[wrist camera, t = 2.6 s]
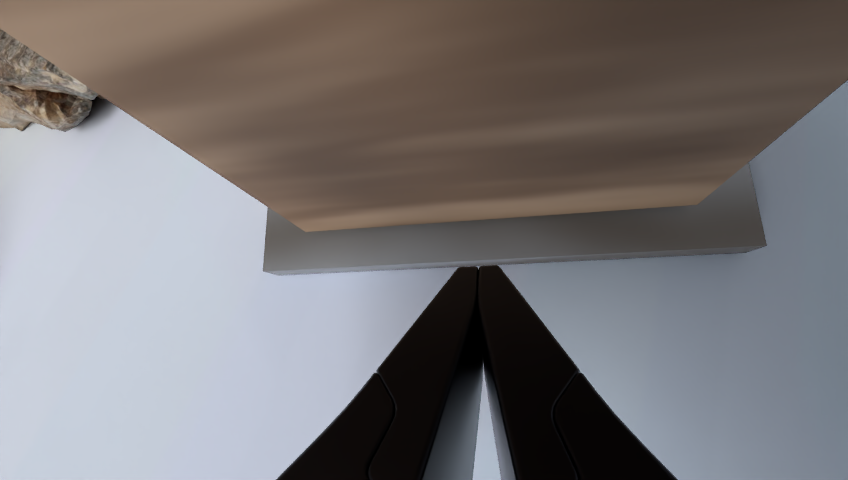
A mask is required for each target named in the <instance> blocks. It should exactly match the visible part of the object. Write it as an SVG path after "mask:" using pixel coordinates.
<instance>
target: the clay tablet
mask: <svg viewBox="0 0 848 480" xmlns="http://www.w3.org/2000/svg"><path fill="white" fill-rule="evenodd" d="M96 97H98V98H101V99H103V100H104V99H105V98H104V97H102V96H101V95H99V94H98V93H96V92H95V91H93V90H92V89H90V88H89V87H87V86H86V85H84V84H83V83H81V82H80V81H78V80H77V79H75V78H73V77H72V76H70V75H69V74H67V73H66V72H64V71H63V70H61V69H60V68H58V67H57V66H55V65H54V64H52V63H51V62H49V61H48V60H46V59H45V58H43V57H42V56H40V55H39V54H37V53H36V52H34V51H33V50H31V49H30V48H28V47H27V46H25V45H24V44H22V43H21V42H19V41H18V40H16V39H15V38H13V37H12V36H10V35H9V34H7V33H6V32H4V31H3V30H1V29H0V128H17V129H18V130H20V131H22V130H23V129H25V128H26V127H27V126H28V125H29V124H30V123H31V122H33V123H37V124H41V125H44V126H46V127H48V128H51V129H57V130H61V131H64V132H66V131H68V130H70V129H71V128H73V127H75V126H77V125H78V124H79V123H81V122H82V121H83V120H84V119H85V118H86V117H87V116H88V115H89V112H90V111H91V106H92V101H90V100H94V99H95V98H96ZM89 99H90V100H89Z"/></svg>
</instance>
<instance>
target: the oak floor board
mask: <svg viewBox="0 0 848 480" xmlns="http://www.w3.org/2000/svg"><path fill="white" fill-rule="evenodd" d="M764 246H767V244H766V240H765V235H764V231H763V226H762V222H761V217H760V213H759V208H758V203H757V199H756V194H755V190H754V185H753V181H752V176H751V172H750V167H749V163H747V164H746V165H745V166H743V167H742V168H741V169H740V170H739V171H737V172H736V173H735V174H734V175H732V176H731V177H730V178H729V179H728V180H726V181H725V182H724V183H723V184H722V185H720V186H719V187H718V188H717V189H716V190H714V191H713V192H712V193H711V194H710V195H708V196H707V197H706V198H705V199H704V200H702V201H701V202H700V203H699V204H698V205H688V206H673V207H659V208H644V209H630V210H616V211H601V212H587V213H572V214H558V215H543V216H529V217H514V218H500V219H486V220H471V221H457V222H442V223H428V224H413V225H399V226H385V227H370V228H356V229H341V230H327V231H312V232H305V231H303V230H302V229H300V228H299V227H297V226H296V225H294V224H293V223H291V222H290V221H288V220H287V219H285V218H284V217H282V216H281V215H279V214H278V213H276V212H275V211H273V210H272V209H270V208H269V207H268V211H267V224H266V237H265V251H264V264H263V271H264V272H267V273H271V274H275V275H297V274H318V273H338V272H359V271H379V270H400V269H420V268H441V267H461V266H482V265H502V264H523V263H543V262H564V261H584V260H605V259H625V258H646V257H666V256H687V255H707V254H728V253H746V252H749V251H752V250H755V249H758V248H761V247H764Z"/></svg>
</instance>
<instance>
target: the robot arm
mask: <svg viewBox="0 0 848 480" xmlns="http://www.w3.org/2000/svg"><path fill="white" fill-rule="evenodd" d="M483 363H484V372H485V380H486V387H487V393H488V399H489V406H490V412H491V418H492V424H493V430H494V437H495V443H496V449H497V455H498V462H499V468H500V474H501V480H678V479H677V478H676V477H675V476H674V475H673V474H672V473H671V472H670V471H669V470H668V469H667V468H666V467H665V466H664V465H663V464H662V463H661V462H660V461H659V460H658V459H657V458H656V457H655V456H654V455H653V454H652V453H651V452H650V451H649V450H648V449H647V448H646V447H645V446H644V445H643V443H642V442H641V441H640V440H639V439H638V438H637V437H636V436H635V435H634V434H633V433H632V432H631V431H630V430H629V428H628V427H627V426H626V425H625V424H624V423H623V422H622V421H621V420H620V419H619V418H618V417H617V416H616V414H615V413H614V412H613V411H612V410H611V408H610V407H609V406H608V405H607V404H606V402H605V401H604V400H603V399H602V398H601V396H600V395H599V394H598V393H597V392H596V390H595V389H594V388H593V386H592V385H591V384H590V383H589V381H588V380H587V379H586V377H585V376H584V375H583V374H582V373H580V370H579V369H578V367H577V366H576V365H575V364H574V362H573V361H572V360H571V358H570V357H569V356H568V354H567V353H566V352H565V351H564V349H563V348H562V347H561V345H560V344H559V343H558V342H557V340H556V339H555V338H554V336H553V335H552V334H551V333H550V331H549V330H548V329H547V327H546V326H545V325H544V324H543V322H542V321H541V320H540V318H539V317H538V316H537V315H536V313H535V312H534V311H533V309H532V308H531V307H530V305H529V304H528V303H527V302H526V300H525V299H524V298H523V296H522V295H521V294H520V293H519V291H518V290H517V289H516V287H515V286H514V285H513V284H512V282H511V281H510V280H509V278H508V277H507V276H506V275H505V273H504V272H503V271H502V269H501V268H500V267H499V266H497V265H492V266H481V267H479V270H478V268H477V267H476V266H471V267H459V268H458V269H457V270H456V271H455V272H454V274H453V275H452V276H451V277H450V279H449V280H448V281H447V282H446V284H445V285H444V286H443V287H442V289H441V290H440V291H439V292H438V294H437V295H436V296H435V298H434V299H433V300H432V301H431V303H430V304H429V305H428V306H427V308H426V309H425V310H424V311H423V313H422V314H421V315H420V316H419V318H418V319H417V320H416V321H415V323H414V324H413V325H412V326H411V328H410V329H409V330H408V331H407V333H406V334H405V335H404V336H403V338H402V339H401V340H400V341H399V343H398V344H397V345H396V346H395V348H394V349H393V350H392V352H391V353H390V354H389V355H388V357H387V358H386V359H385V360H384V362H383V363H382V364H381V365H380V367H379V368H378V369H377V373H374V374H373V375H372V376H371V378H370V379H369V380H368V381H367V383H366V384H365V385H364V386H363V388H362V389H361V390H360V391H359V392H358V394H357V395H356V396H355V397H354V398H353V399H352V401H351V402H350V403H349V404H348V405H347V407H346V408H345V409H344V410H343V411H342V412H341V413H340V414H339V415H338V416H337V418H336V419H335V420H334V421H333V422H332V423H331V424H330V425H329V426H328V427H327V428H326V429H325V430H324V431H323V432H322V434H321V435H320V436H319V437H318V438H317V439H316V440H315V441H314V442H313V443H312V444H311V445H310V446H309V447H308V448H307V449H306V450H305V451H304V452H303V453H302V454H301V455H300V456H299V457H298V458H297V459H296V460H295V461H294V462H293V463H292V464H291V465H290V466H289V467H288V468H287V469H286V470H285V471H284V472H283V473H282V474H281V475H280V476H279V477H278V478H277V479H276V480H472V478H473V469H474V459H475V449H476V439H477V430H478V420H479V410H480V400H481V391H482V381H483Z"/></svg>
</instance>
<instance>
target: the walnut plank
mask: <svg viewBox="0 0 848 480" xmlns="http://www.w3.org/2000/svg"><path fill="white" fill-rule="evenodd" d="M0 29H1V30H3V31H4V32H6V33H7V34H9V35H10V36H12V37H13V38H15V39H16V40H18V41H19V42H21V43H22V44H24V45H25V46H27V47H28V48H30V49H31V50H33V51H34V52H36V53H37V54H39V55H40V56H42V57H43V58H45V59H46V60H48V61H49V62H51V63H52V64H54V65H55V66H57V67H58V68H60V69H61V70H63V71H64V72H66V73H67V74H69V75H70V76H72V77H73V78H75V79H77V80H78V81H80V82H81V83H83V84H84V85H86V86H87V87H89V88H90V89H92V90H93V91H95V92H96V93H98V94H99V95H101V96H102V97H104V98H105V99H107V100H108V101H110V102H111V103H113V104H114V105H116V106H117V107H119V108H120V109H122V110H123V111H125V112H126V113H128V114H129V115H131V116H132V117H134V118H135V119H137V120H138V121H140V122H141V123H143V124H144V125H146V126H147V127H149V128H150V129H152V130H153V131H155V132H156V133H158V134H159V135H161V136H162V137H164V138H165V139H167V140H168V141H170V142H171V143H173V144H174V145H176V146H177V147H179V148H180V149H182V150H183V151H185V152H186V153H188V154H189V155H191V156H192V157H194V158H195V159H197V160H198V161H200V162H201V163H203V164H204V165H206V166H207V167H209V168H210V169H212V170H213V171H215V172H216V173H218V174H219V175H221V176H222V177H224V178H225V179H227V180H228V181H230V182H231V183H233V184H234V185H236V186H237V187H239V188H240V189H242V190H243V191H245V192H246V193H248V194H249V195H251V196H252V197H254V198H255V199H257V200H258V201H260V202H261V203H263V204H264V205H266V206H267V207H269V208H270V209H272V210H273V211H275V212H276V213H278V214H279V215H281V216H282V217H284V218H285V219H287V220H288V221H290V222H291V223H293V224H294V225H296V226H297V227H299V228H300V229H302V230H303V231H305V232H312V231H327V230H341V229H356V228H370V227H385V226H399V225H413V224H428V223H442V222H457V221H471V220H486V219H500V218H514V217H529V216H543V215H558V214H572V213H587V212H601V211H616V210H630V209H644V208H659V207H673V206H688V205H698V204H699V203H700V202H701V201H702V200H704V199H705V198H706V197H707V196H708V195H710V194H711V193H712V192H713V191H714V190H716V189H717V188H718V187H719V186H720V185H722V184H723V183H724V182H725V181H726V180H728V179H729V178H730V177H731V176H732V175H734V174H735V173H736V172H737V171H739V170H740V169H741V168H742V167H743V166H745V165H746V164H747V163H748V162H749V161H751V160H752V159H753V158H754V157H755V156H757V155H758V154H759V153H760V152H761V151H763V150H764V149H765V148H766V147H767V146H769V145H770V144H771V143H772V142H773V141H775V140H776V139H777V138H778V137H779V136H781V135H782V134H783V133H784V132H785V131H787V130H788V129H789V128H790V127H792V126H793V125H794V124H795V123H796V122H798V121H799V120H800V119H801V118H802V117H804V116H805V115H806V114H807V113H808V112H810V111H811V110H812V109H813V108H814V107H816V106H817V105H818V104H819V103H820V102H822V101H823V100H824V99H825V98H826V97H828V96H829V95H830V94H831V93H832V92H834V91H835V90H836V89H837V88H839V87H840V86H841V85H842V84H843V83H845V82H846V81H847V80H848V0H0Z"/></svg>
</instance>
